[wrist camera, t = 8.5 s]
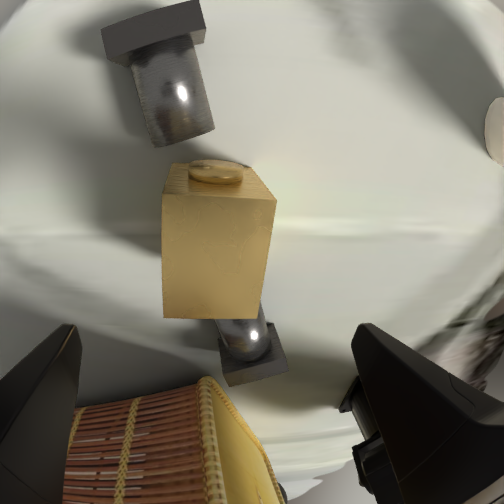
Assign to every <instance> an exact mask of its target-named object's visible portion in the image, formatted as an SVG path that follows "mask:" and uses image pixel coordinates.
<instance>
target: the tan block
mask: <svg viewBox="0 0 504 504" xmlns="http://www.w3.org/2000/svg"><path fill="white" fill-rule="evenodd" d="M276 203H277V200H276V198H275V197H274V196H273V195H272V193H271V192H270V191H269V189H268V188H267V187H266V185H265V184H264V183H263V182H262V180H261V179H260V178H259V177H258V175H257V174H256V173H255V171H254V170H253V169H252V168H251V167H243V166H242V165H240V164H237V163H233V162H228V161H222V160H196V161H192V162H190V163H172V165H171V168H170V171H169V174H168V177H167V180H166V184H165V187H164V190H163V193H162V229H161V245H162V292H163V314H164V318H182V319H257V315H258V310H259V304H260V298H261V293H262V287H263V281H264V275H265V269H266V263H267V258H268V252H269V246H270V240H271V234H272V228H273V222H274V215H275V209H276Z"/></svg>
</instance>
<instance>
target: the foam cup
mask: <svg viewBox="0 0 504 504" xmlns="http://www.w3.org/2000/svg"><path fill="white" fill-rule="evenodd" d="M484 136H485V142H486V147H487V151H488V153H489V155H490V156H491V158H492V160H493V161H495V162H497V163H498V164H499V165H501V166H503V167H504V97H500V98H496V99H495V100H494V101H493V102H492V103H491V104H490V106H489V109H488V112H487V115H486V118H485V132H484Z"/></svg>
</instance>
